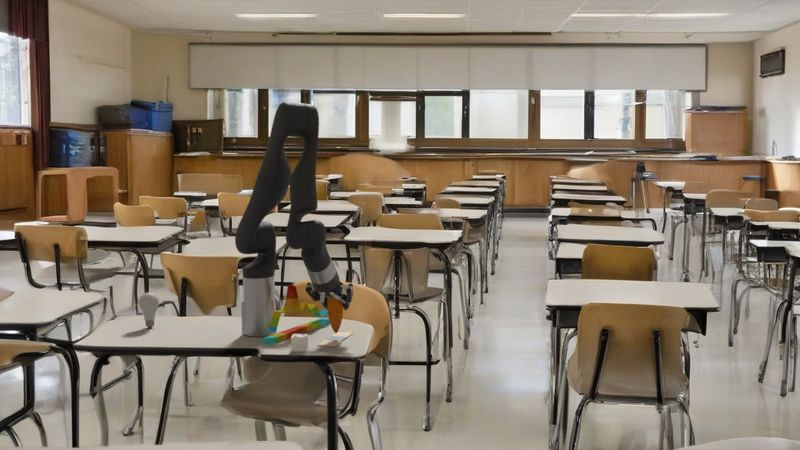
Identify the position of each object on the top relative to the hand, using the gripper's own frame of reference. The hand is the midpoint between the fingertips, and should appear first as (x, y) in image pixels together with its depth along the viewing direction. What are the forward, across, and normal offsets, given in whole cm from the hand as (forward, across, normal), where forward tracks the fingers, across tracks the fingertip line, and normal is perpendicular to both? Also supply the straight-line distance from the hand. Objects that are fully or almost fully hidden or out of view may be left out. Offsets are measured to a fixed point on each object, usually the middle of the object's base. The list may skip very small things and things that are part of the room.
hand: (337, 307), depth 269 cm
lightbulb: (+8, +62, +5) cm, 62 cm away
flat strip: (+5, 0, +8) cm, 9 cm away
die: (-4, +6, +17) cm, 19 cm away
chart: (+9, +14, +4) cm, 17 cm away
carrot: (+4, 0, +6) cm, 8 cm away
